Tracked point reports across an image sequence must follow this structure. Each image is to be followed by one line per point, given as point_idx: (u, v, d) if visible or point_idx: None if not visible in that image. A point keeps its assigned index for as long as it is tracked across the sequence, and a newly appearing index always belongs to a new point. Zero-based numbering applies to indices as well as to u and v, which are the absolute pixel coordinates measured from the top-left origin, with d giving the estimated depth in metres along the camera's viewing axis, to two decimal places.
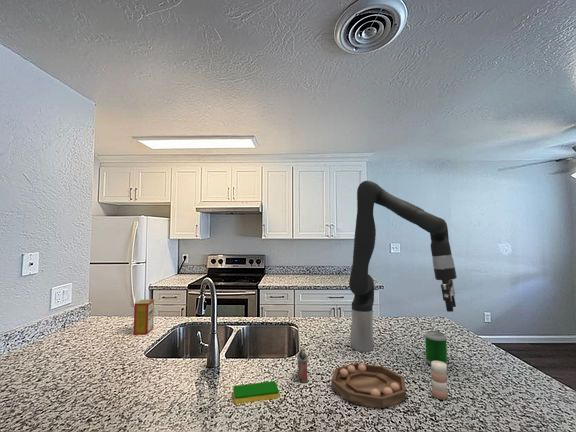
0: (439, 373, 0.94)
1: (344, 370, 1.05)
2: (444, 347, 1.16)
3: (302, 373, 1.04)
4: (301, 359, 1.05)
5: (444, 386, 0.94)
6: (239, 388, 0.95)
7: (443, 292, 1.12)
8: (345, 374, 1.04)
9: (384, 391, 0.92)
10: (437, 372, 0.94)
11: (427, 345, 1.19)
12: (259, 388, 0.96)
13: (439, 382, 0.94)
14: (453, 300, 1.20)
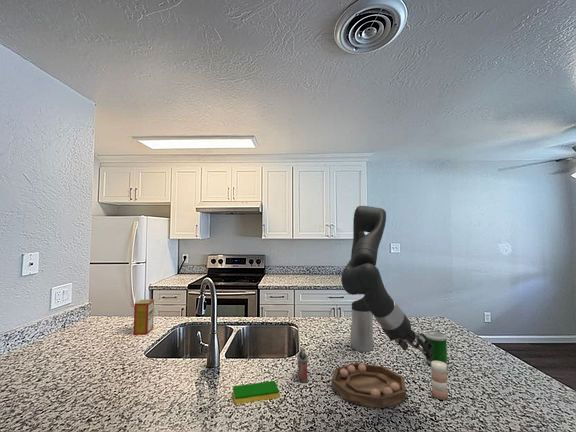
0: (439, 373, 0.94)
1: (344, 370, 1.05)
2: (444, 347, 1.16)
3: (302, 373, 1.04)
4: (301, 359, 1.05)
5: (444, 386, 0.94)
6: (239, 389, 0.95)
7: None
8: (345, 374, 1.04)
9: (384, 391, 0.92)
10: (437, 372, 0.94)
11: None
12: (259, 388, 0.96)
13: (439, 382, 0.94)
14: None
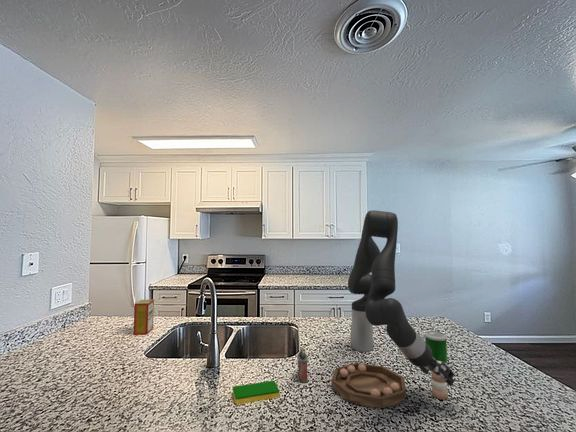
0: None
1: (344, 370, 1.05)
2: (444, 347, 1.16)
3: (302, 373, 1.04)
4: (301, 359, 1.05)
5: (444, 386, 0.94)
6: (239, 389, 0.95)
7: None
8: (345, 374, 1.04)
9: (384, 391, 0.92)
10: None
11: None
12: (259, 388, 0.96)
13: (439, 382, 0.94)
14: None
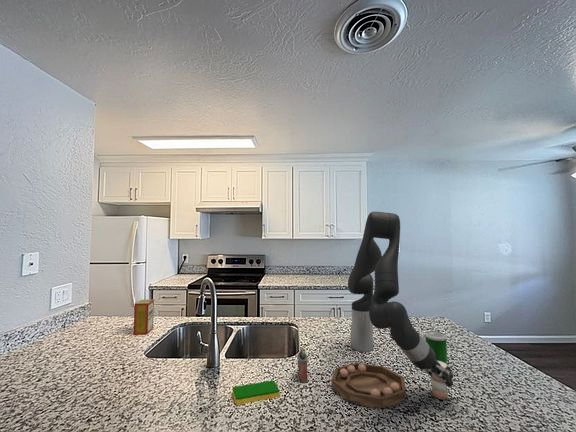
0: None
1: (344, 370, 1.05)
2: (444, 347, 1.16)
3: (302, 373, 1.04)
4: (301, 359, 1.05)
5: (444, 386, 0.94)
6: (239, 389, 0.95)
7: None
8: (345, 374, 1.04)
9: (384, 391, 0.92)
10: None
11: None
12: (259, 388, 0.96)
13: (439, 382, 0.94)
14: None
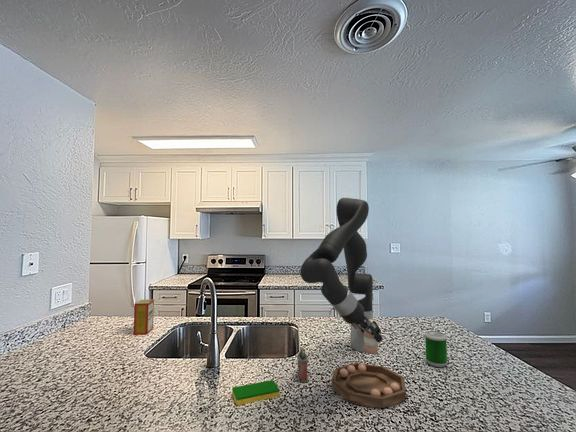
0: None
1: (344, 370, 1.05)
2: (444, 347, 1.16)
3: (302, 373, 1.04)
4: (301, 359, 1.05)
5: (374, 341, 0.99)
6: (239, 390, 0.95)
7: None
8: (345, 374, 1.04)
9: (384, 391, 0.92)
10: None
11: (427, 345, 1.19)
12: (259, 388, 0.96)
13: (369, 338, 0.99)
14: None
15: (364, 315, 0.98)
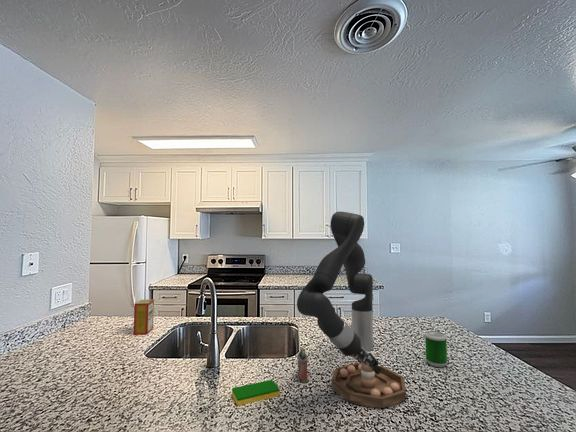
0: None
1: (344, 370, 1.05)
2: (444, 347, 1.16)
3: (302, 373, 1.04)
4: (301, 359, 1.05)
5: (371, 375, 0.98)
6: (239, 390, 0.94)
7: None
8: (345, 374, 1.04)
9: (384, 391, 0.92)
10: None
11: (427, 345, 1.19)
12: (259, 388, 0.96)
13: (366, 371, 0.99)
14: None
15: (361, 346, 0.98)
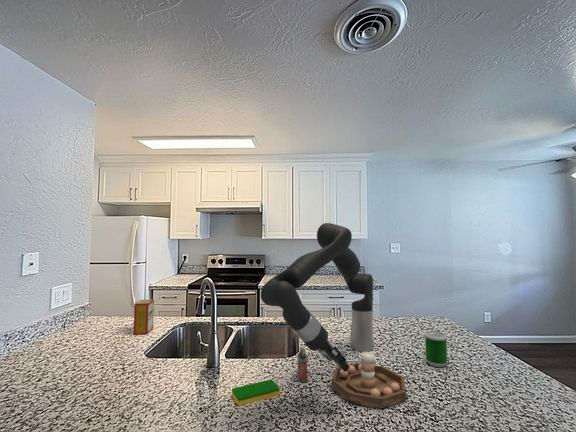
0: (366, 363, 0.99)
1: None
2: (444, 347, 1.16)
3: (302, 373, 1.04)
4: (301, 359, 1.05)
5: (371, 375, 0.98)
6: (239, 390, 0.94)
7: None
8: (345, 374, 1.04)
9: (384, 391, 0.92)
10: (364, 362, 0.99)
11: (427, 345, 1.19)
12: (259, 388, 0.96)
13: (366, 372, 0.99)
14: None
15: (328, 341, 0.92)
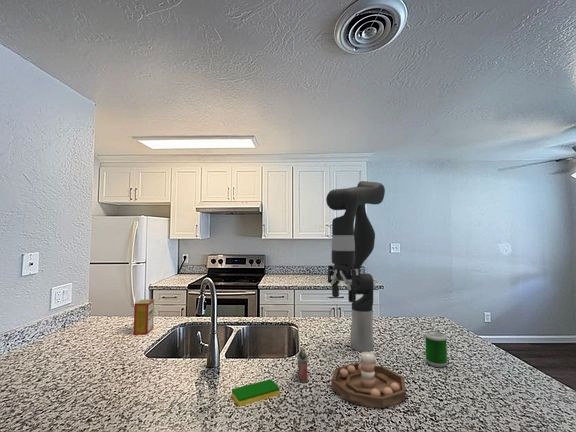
0: (366, 363, 0.99)
1: (344, 370, 1.05)
2: (444, 347, 1.16)
3: (302, 373, 1.04)
4: (301, 359, 1.05)
5: (371, 375, 0.98)
6: (239, 391, 0.94)
7: None
8: (345, 374, 1.04)
9: (384, 391, 0.92)
10: (364, 362, 0.99)
11: (427, 345, 1.19)
12: (259, 388, 0.96)
13: (366, 372, 0.99)
14: None
15: None
